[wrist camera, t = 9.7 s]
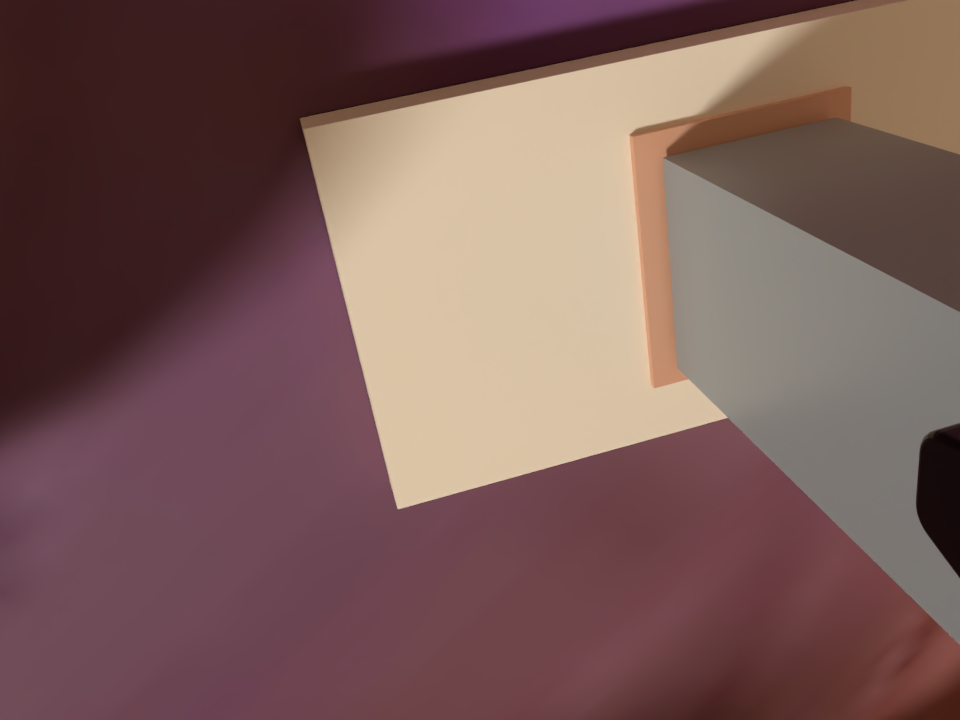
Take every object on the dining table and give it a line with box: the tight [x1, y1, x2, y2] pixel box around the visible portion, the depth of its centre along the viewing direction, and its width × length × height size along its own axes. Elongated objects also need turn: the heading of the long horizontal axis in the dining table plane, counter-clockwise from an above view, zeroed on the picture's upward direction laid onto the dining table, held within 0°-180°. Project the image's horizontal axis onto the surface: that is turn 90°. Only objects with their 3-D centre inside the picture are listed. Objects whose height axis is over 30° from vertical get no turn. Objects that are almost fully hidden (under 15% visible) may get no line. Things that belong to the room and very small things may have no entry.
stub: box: [663, 117, 960, 645], centre depth 15 cm, size 4×5×12 cm
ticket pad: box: [300, 0, 960, 509], centre depth 21 cm, size 20×9×1 cm, turn 99°
